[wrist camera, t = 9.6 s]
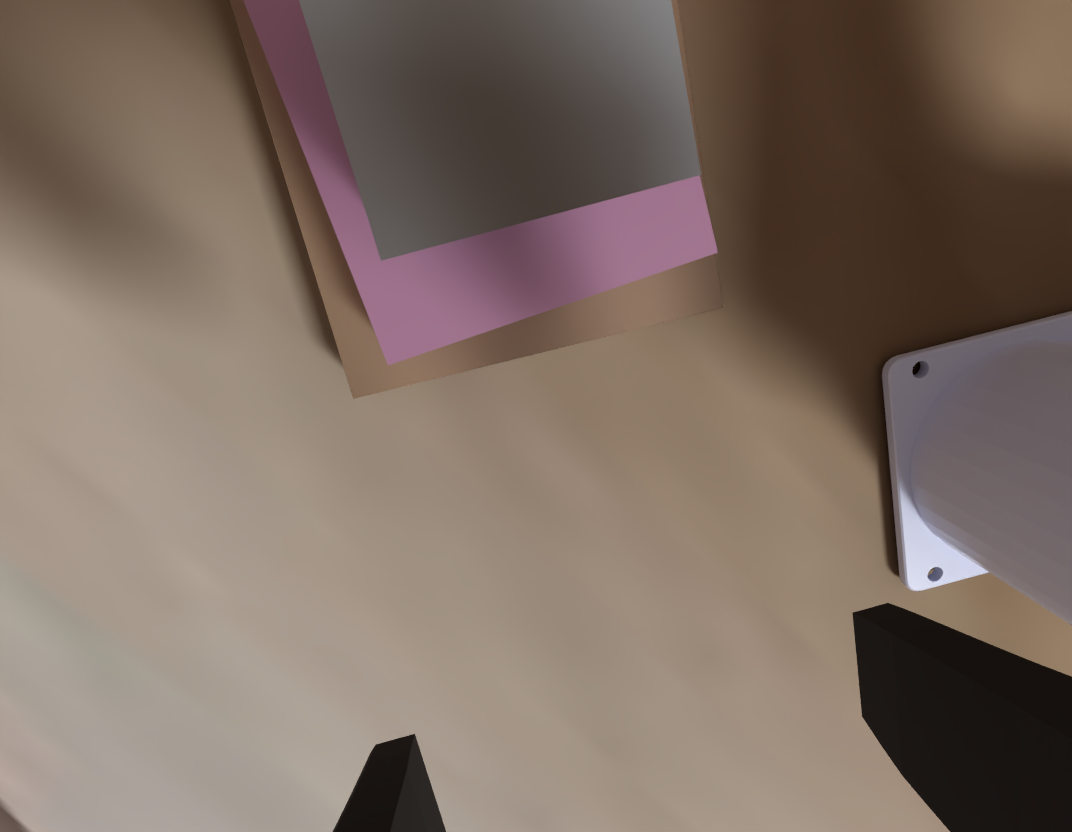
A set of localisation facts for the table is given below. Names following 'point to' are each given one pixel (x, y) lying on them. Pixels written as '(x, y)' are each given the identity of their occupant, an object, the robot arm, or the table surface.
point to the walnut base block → (556, 328)
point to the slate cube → (500, 108)
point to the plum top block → (483, 260)
